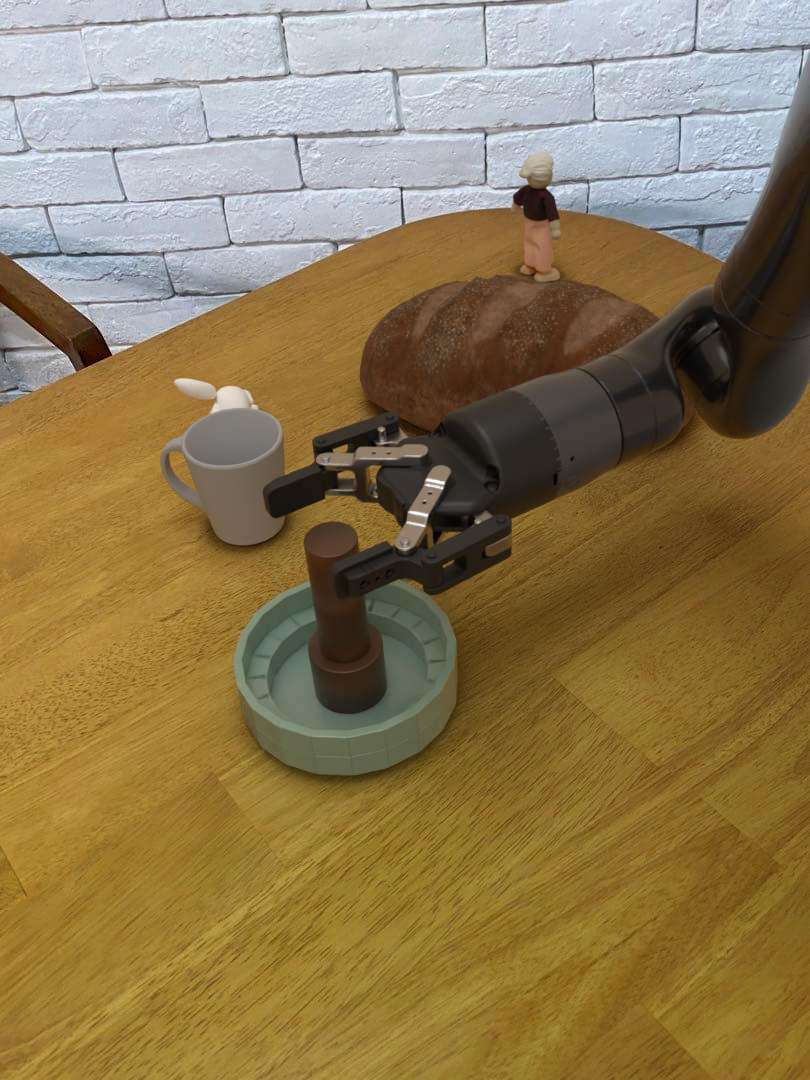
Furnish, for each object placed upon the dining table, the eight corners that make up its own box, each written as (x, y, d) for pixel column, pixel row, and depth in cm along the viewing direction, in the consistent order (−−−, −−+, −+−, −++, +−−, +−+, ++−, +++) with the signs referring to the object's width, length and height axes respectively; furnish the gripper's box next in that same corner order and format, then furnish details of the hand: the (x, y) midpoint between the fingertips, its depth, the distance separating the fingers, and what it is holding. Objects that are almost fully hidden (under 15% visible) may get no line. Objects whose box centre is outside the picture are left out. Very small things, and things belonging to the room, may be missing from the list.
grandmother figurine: (577, 276, 116) (582, 155, 108) (552, 290, 114) (555, 168, 106) (521, 253, 120) (522, 136, 112) (497, 266, 119) (496, 148, 110)
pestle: (400, 694, 74) (386, 545, 65) (336, 725, 72) (313, 577, 64) (364, 649, 77) (346, 502, 69) (302, 678, 75) (276, 532, 67)
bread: (688, 476, 90) (704, 354, 83) (340, 438, 97) (326, 322, 90) (701, 371, 101) (717, 255, 94) (388, 343, 108) (379, 233, 101)
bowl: (499, 718, 73) (499, 672, 70) (304, 820, 68) (295, 774, 65) (389, 592, 82) (385, 546, 79) (211, 674, 77) (199, 628, 74)
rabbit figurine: (280, 428, 99) (207, 431, 93) (255, 451, 101) (183, 455, 95) (254, 370, 100) (181, 370, 94) (231, 394, 103) (158, 395, 97)
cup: (281, 560, 86) (265, 471, 80) (158, 548, 88) (134, 460, 82) (308, 497, 91) (295, 410, 86) (192, 487, 93) (172, 401, 88)
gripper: (465, 345, 73) (236, 430, 67) (604, 452, 63) (351, 562, 58) (468, 439, 78) (255, 526, 72) (597, 552, 68) (363, 663, 62)
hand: (298, 542), depth 65 cm, fingers open, 8 cm apart
